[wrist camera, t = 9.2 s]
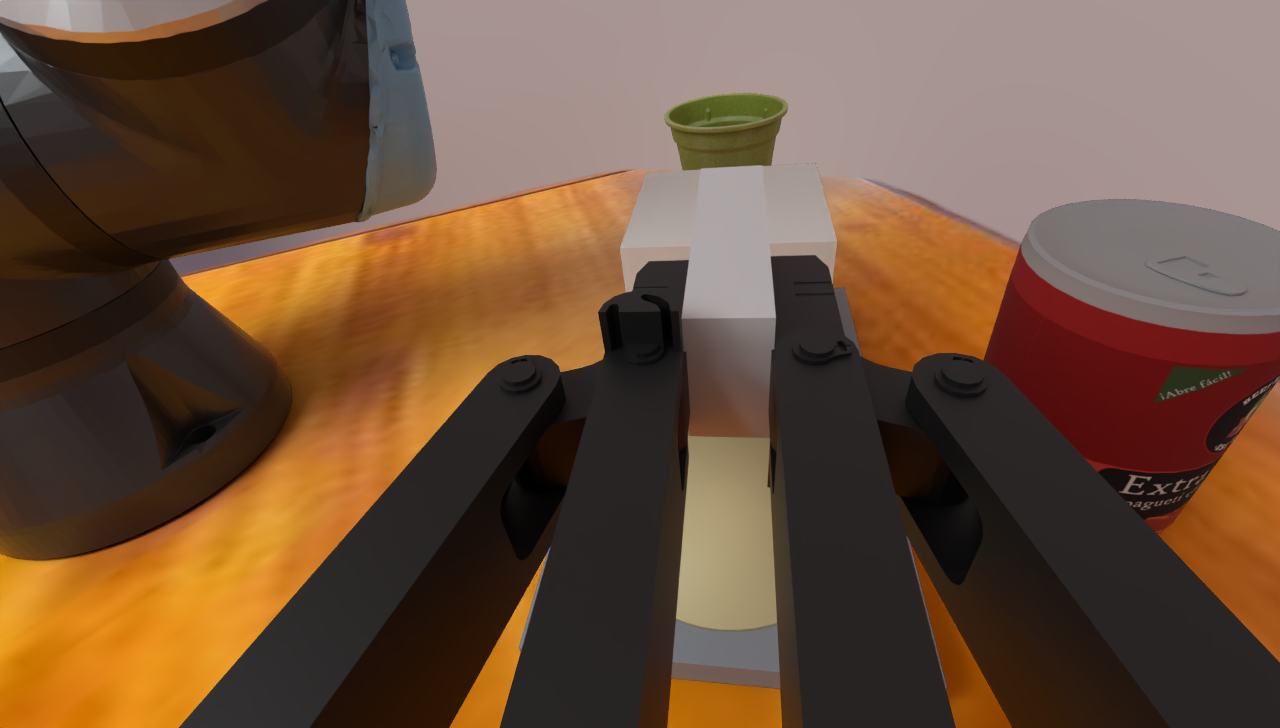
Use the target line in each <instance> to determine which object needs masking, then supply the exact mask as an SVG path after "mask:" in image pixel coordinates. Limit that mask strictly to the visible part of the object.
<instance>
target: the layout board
mask: <svg viewBox="0 0 1280 728" xmlns="http://www.w3.org/2000/svg"><path fill="white" fill-rule="evenodd" d="M834 292H835V296H836V300H837V304H838V309H839V313H840V317H841V321H842V325H843V330H844V334H845V336H846V337H847V338H848V339H850V340H851V341H853V342H854V344H855V345H856V347H857V349H858V350H859V353H860V356H861V357H862V354H861V350H860V346H859V342H858V338H857V335H856V331H855V327H854V323H853V319H852V315H851V311H850V307H849V303H848V299H847V296H846V292H845V288H834ZM769 448H770V437H769V438H746V437H703V436H689V431H688V450H689V465H688V477H687V490H686V502H685V514H684V526H683V539H682V551H681V563H680V575H679V588H678V600H677V612H676V625H675V637H674V649H673V661H672V674H671V678H676V679H686V680H696V681H706V682H716V683H726V684H736V685H747V686H757V687H767V688H777V689H780V670H779V650H778V631H777V611H776V591H775V571H774V552H773V532H772V512H771V492H770V487H767V484H768V466H769ZM907 540H908V544H909V548H910V552H911V556H912V560H913V564H914V567H915V571H916V575H917V579H918V583H919V587H920V591H921V595H922V599H923V603H924V606H925V610H926V614H927V618H928V622H929V626H930V630H931V634H932V638H933V641H934V645H935V649H936V653H937V657H938V661H939V665H940V669H941V673H942V677H943V680H944V684H945V688H946V689H947V686H946V682H945V678H944V674H943V670H942V666H941V662H940V659H939V655H938V651H937V647H936V643H935V639H934V635H933V631H932V627H931V623H930V620H929V616H928V612H927V608H926V604H925V600H924V596H923V592H922V588H921V584H920V580H919V577H918V573H917V569H916V565H915V561H914V557H913V553H912V549H911V545H910V541H909V539H908V537H907ZM550 547H551V546H550ZM549 550H550V548H549ZM549 550H548V553H547V556H546V559H545V562H544V566H543V569H542V572H541V576H540V579H539V582H538V586H537V589H536V592H535V595H534V599H533V602H532V605H531V609H530V612H529V615H528V619H527V622H526V625H525V628H524V632H523V635H522V638H521V642H520V645H519V649H520V651H521V650H522V647H523V643H524V639H525V636H526V632H527V629H528V625H529V622H530V618H531V614H532V611H533V607H534V604H535V600H536V597H537V593H538V590H539V586H540V582H541V579H542V575H543V572H544V568H545V565H546V561H547V557H548V554H549Z"/></svg>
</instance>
